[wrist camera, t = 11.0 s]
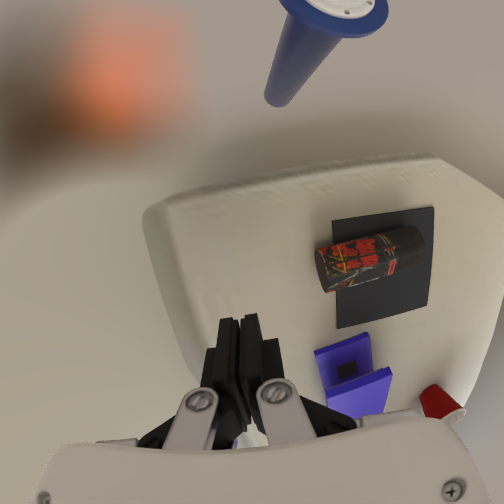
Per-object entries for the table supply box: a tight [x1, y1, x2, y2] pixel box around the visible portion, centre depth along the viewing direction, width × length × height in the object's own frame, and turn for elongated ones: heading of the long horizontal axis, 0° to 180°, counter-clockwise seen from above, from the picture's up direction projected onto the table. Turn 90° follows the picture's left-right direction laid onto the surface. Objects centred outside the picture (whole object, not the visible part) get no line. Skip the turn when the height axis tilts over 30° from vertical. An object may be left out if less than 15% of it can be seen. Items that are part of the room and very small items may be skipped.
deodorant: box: [315, 226, 426, 293], centre depth 35 cm, size 6×6×15 cm
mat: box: [332, 207, 434, 329], centre depth 40 cm, size 18×18×1 cm
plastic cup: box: [420, 384, 466, 428], centre depth 46 cm, size 11×11×12 cm
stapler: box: [314, 332, 393, 419], centre depth 44 cm, size 12×28×10 cm, turn 19°
